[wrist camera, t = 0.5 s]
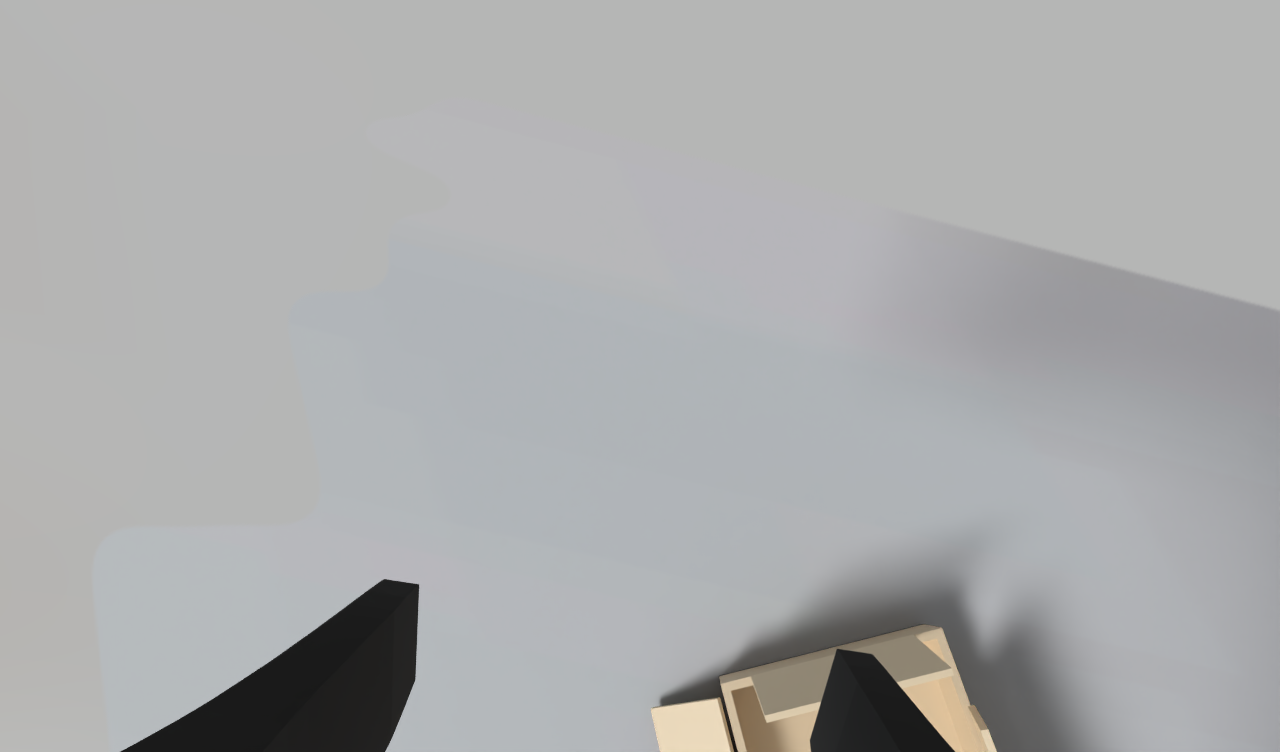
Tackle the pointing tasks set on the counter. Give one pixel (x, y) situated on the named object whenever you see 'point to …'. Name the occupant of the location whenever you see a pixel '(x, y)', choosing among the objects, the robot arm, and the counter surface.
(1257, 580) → the counter surface
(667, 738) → the carton
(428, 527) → the counter surface
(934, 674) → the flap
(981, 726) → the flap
